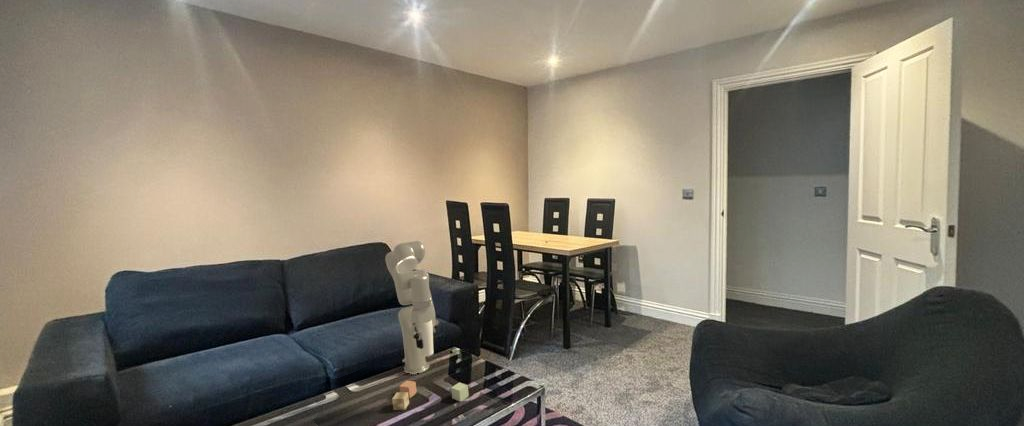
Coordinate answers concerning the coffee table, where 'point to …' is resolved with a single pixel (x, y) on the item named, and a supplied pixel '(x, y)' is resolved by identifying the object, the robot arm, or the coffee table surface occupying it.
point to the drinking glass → (427, 339)
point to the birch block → (400, 401)
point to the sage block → (459, 391)
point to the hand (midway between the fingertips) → (426, 344)
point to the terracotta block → (408, 388)
